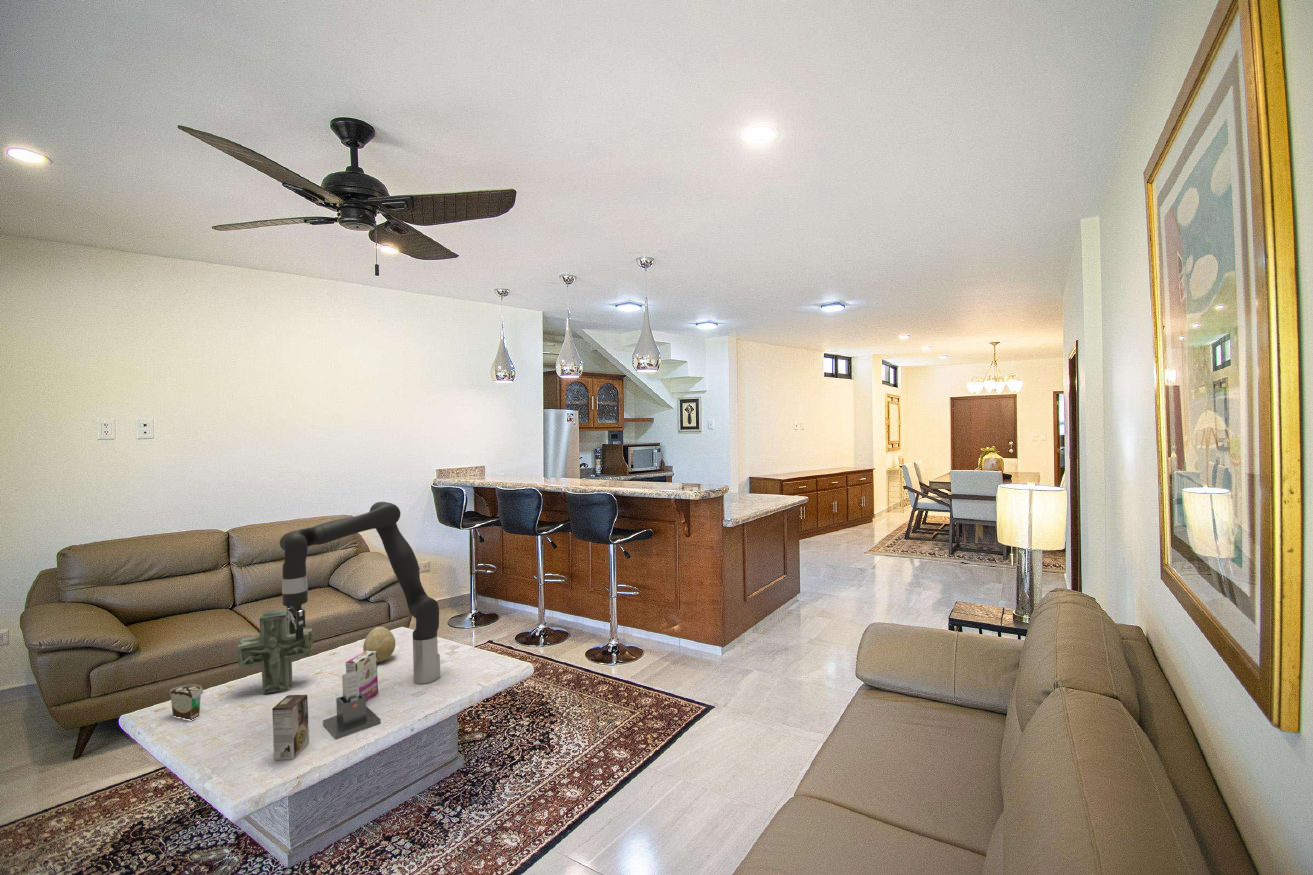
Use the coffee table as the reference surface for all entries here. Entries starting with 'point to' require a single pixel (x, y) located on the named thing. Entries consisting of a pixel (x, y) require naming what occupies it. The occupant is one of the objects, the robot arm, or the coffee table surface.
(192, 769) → the coffee table surface
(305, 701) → the coffee box
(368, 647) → the fossilized egg
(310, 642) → the religious sculpture
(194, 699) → the food container
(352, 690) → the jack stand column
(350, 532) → the robot arm
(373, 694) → the candy bar box
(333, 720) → the jack stand base
